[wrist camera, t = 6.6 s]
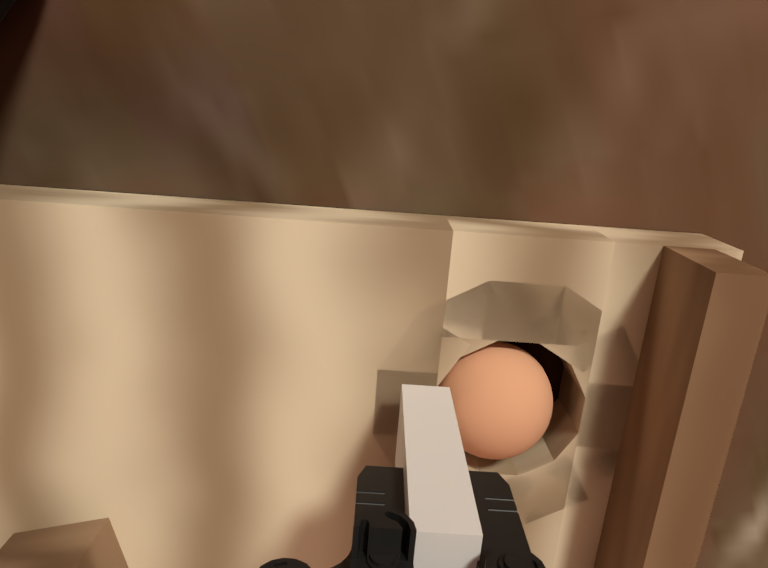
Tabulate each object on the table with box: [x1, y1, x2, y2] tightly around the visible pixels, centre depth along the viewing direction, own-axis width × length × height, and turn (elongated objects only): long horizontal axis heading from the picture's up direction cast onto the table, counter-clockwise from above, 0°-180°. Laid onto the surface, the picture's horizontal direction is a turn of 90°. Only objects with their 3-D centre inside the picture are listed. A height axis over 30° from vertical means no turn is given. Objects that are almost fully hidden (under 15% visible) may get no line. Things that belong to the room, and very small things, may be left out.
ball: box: [438, 341, 553, 459], centre depth 20 cm, size 4×4×4 cm
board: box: [0, 184, 768, 568], centre depth 20 cm, size 25×16×6 cm, turn 86°
